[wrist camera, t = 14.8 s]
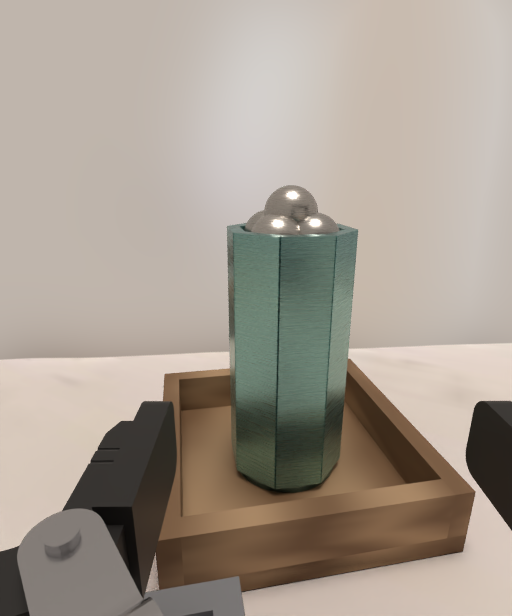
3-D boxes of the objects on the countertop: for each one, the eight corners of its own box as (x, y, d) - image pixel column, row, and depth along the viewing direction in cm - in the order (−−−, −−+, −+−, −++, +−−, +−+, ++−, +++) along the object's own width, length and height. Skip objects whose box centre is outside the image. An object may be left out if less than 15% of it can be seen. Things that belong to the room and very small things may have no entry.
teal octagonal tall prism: (316, 422, 27) (329, 183, 22) (351, 486, 22) (379, 186, 17) (228, 432, 26) (222, 184, 21) (241, 501, 21) (237, 187, 16)
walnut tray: (346, 398, 32) (349, 358, 31) (462, 551, 19) (475, 491, 18) (167, 416, 30) (164, 374, 29) (161, 606, 17) (154, 541, 16)
